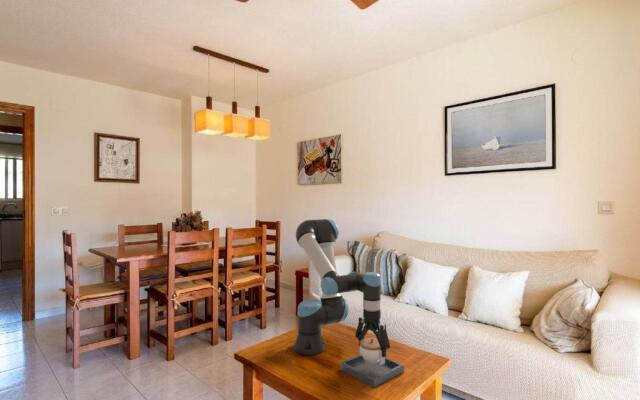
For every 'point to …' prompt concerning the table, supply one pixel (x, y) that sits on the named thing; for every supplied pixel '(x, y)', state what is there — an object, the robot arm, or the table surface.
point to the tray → (371, 370)
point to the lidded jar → (370, 350)
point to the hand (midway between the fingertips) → (372, 359)
